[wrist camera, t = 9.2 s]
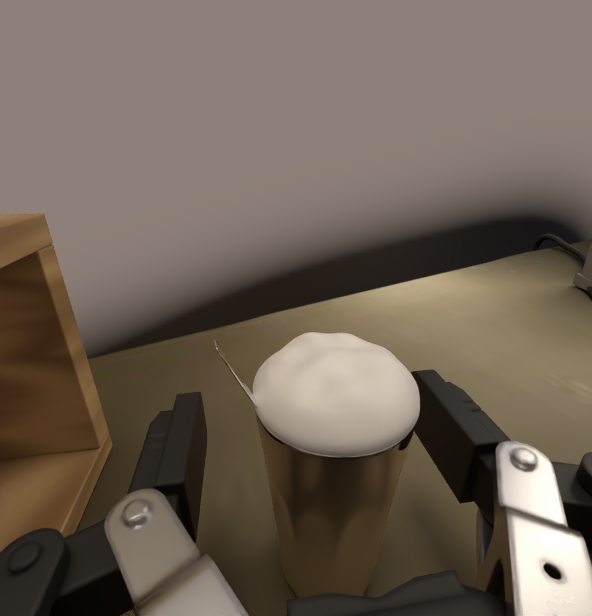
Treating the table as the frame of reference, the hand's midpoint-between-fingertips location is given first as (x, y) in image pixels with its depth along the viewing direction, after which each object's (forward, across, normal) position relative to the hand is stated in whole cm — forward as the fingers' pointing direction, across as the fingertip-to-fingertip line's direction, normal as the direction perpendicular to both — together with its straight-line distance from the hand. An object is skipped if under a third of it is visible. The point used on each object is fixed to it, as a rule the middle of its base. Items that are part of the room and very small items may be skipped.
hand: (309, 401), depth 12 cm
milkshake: (-2, 0, +6) cm, 7 cm away
